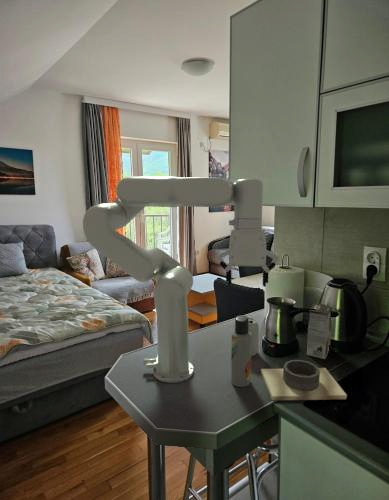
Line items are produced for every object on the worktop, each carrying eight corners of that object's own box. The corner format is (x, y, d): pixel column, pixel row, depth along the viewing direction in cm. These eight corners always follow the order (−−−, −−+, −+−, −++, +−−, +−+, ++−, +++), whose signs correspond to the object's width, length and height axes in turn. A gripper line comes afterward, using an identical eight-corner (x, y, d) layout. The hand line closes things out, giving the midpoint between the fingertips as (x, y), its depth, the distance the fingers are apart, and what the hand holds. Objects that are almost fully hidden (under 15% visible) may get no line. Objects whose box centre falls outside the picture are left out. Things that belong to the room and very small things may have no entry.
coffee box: (311, 344, 120) (313, 302, 118) (330, 348, 117) (333, 305, 114) (305, 355, 112) (308, 309, 110) (325, 359, 109) (328, 313, 107)
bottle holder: (272, 400, 88) (272, 382, 87) (260, 372, 101) (261, 356, 101) (346, 399, 88) (347, 381, 87) (325, 371, 102) (326, 355, 101)
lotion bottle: (253, 380, 97) (255, 315, 94) (246, 389, 93) (247, 322, 89) (235, 374, 100) (236, 312, 97) (227, 383, 95) (228, 318, 92)
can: (257, 359, 110) (258, 325, 108) (235, 356, 111) (235, 323, 109) (258, 348, 117) (258, 316, 115) (236, 347, 119) (237, 315, 117)
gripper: (215, 225, 88) (215, 287, 91) (281, 226, 86) (279, 289, 88) (217, 223, 96) (217, 280, 98) (278, 223, 93) (276, 282, 96)
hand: (246, 284), depth 93 cm, fingers open, 9 cm apart
